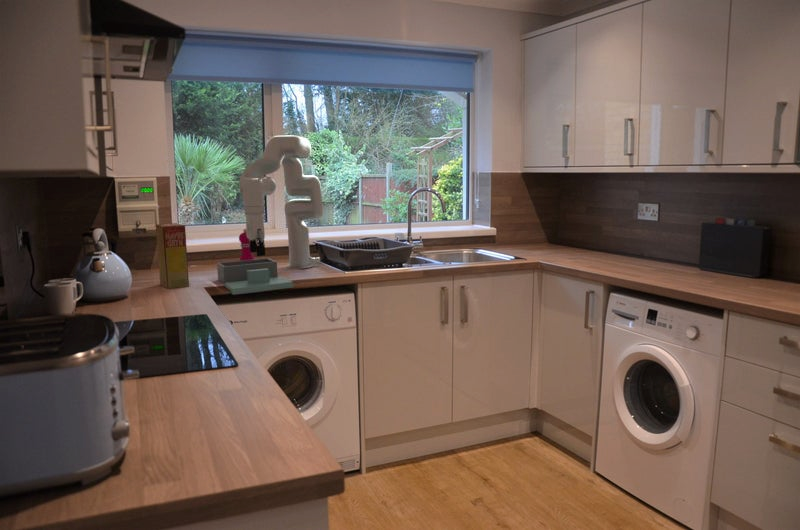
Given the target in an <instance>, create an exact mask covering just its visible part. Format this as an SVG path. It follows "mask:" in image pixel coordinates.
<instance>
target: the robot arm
mask: <svg viewBox="0 0 800 530" xmlns="http://www.w3.org/2000/svg"><path fill="white" fill-rule="evenodd" d="M311 153H312V146H311V143H310V141H309V139H307V138H306V137H302V136H299V135H293V134H292V135H291V134H290V135H289V134H288V135H275V136H271V137H270V138H269V139H268V141H267V143H266V146H265V147H264V151H263V152H262V154H261V157H260V158H258V159H256V160H255V161H253V162H252V163H250V164H249V165H247V166H246V167H245V168H244V169H243V171H242V174H241V176H240V178H239V182H238V190H239V192H240V194H242V195H243V197H242V198H243V208H244V209H243V211H244V216H245V218H246V219H245V223H246V224H245V227H246V228H245V229H246V233H247V238H248V239H249V242H250V252H251V253H252V254H253V253H256V257H265V256H266V247H265V245H266V243H265V223H264V216H263V215H265V203H264V202H265V201H264V196H270V195H271V196H272V194H274V193H275V192H276V188H277V185H276V180H275V179H274V178H272V177H271V176H267V175H270V174H272V173H274V172H277V171H278V170H280V168H281V165H282V168H283V169H282V170H283V174H284V185H285V186H284V187H285V191H286V194H287V195H288V196H289V197H295V198H294V199H290V200H288V201H286V202H285V204H284V214H285V218H286V219H285V220H286V227H287V238H288V256H289V257H288V259H289V263H288V264H286V268H296V269H298V270H302V269H303V270H305V269H309V268H313V267H314V262H315V263H316V262H317V263H318V262H320V261H321V257H320V256H319V257H318V256H317V257H312V256H311V255H310V252H311V251H310V236H309V235H310V231H309V227H308V225H307V224H306V223H305V221H312V220H313V221H315V220H316V221H317V220H320V219H322V217H323V215H324V214H323V213H324V207H323V196H322V187H321V186H322V185H321V182H320V178H318V177H317V175H311V174H309V175H304V169H303V163H302V161H301V160H300V159H307V158H309V157H310V156H311ZM296 197H297V198H296ZM298 197H309V198H298Z"/></svg>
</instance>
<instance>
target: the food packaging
mask: <svg viewBox="0 0 800 530" xmlns="http://www.w3.org/2000/svg"><path fill="white" fill-rule="evenodd" d="M155 233H156V245H157V258H158V271H159V272H158V275H159V285H161V287H163V288H165V289H166V290H171V289H178V288H179V289H180V288H186V287H187V288H188V287H190V281H189V280H190V279H189V278H190V277H189V266H188V252H187V251H188V250H187V235H186V225H184V224H179V223H177V222H175V223H173V222H172V223H159V224H155Z"/></svg>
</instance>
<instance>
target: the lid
mask: <svg viewBox="0 0 800 530" xmlns="http://www.w3.org/2000/svg"><path fill="white" fill-rule="evenodd" d="M224 287H225V288H227V289H228V292H229V293H230V294H231V295H233V296H235V295H243V294H251V293H260V292H269V291H275V290H283V289H290V288H291V289H293V288H294V281H293V280H290V279H288V278H286V277H284V276H278V277H274V278H269V269H267V268H265V269H255V270H247V281H238V282H229V283H225V284H224Z"/></svg>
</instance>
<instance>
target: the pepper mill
mask: <svg viewBox="0 0 800 530" xmlns="http://www.w3.org/2000/svg"><path fill="white" fill-rule="evenodd" d="M238 241H239V242H240V248H241V255H240V258H239V261H243V260H254V259H255V256H254V254H253V252H252V253H251V252H250V242H249V239H248V238H247V233H246V228H244V229H243V232H241V233H240V234H239V236H238Z"/></svg>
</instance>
